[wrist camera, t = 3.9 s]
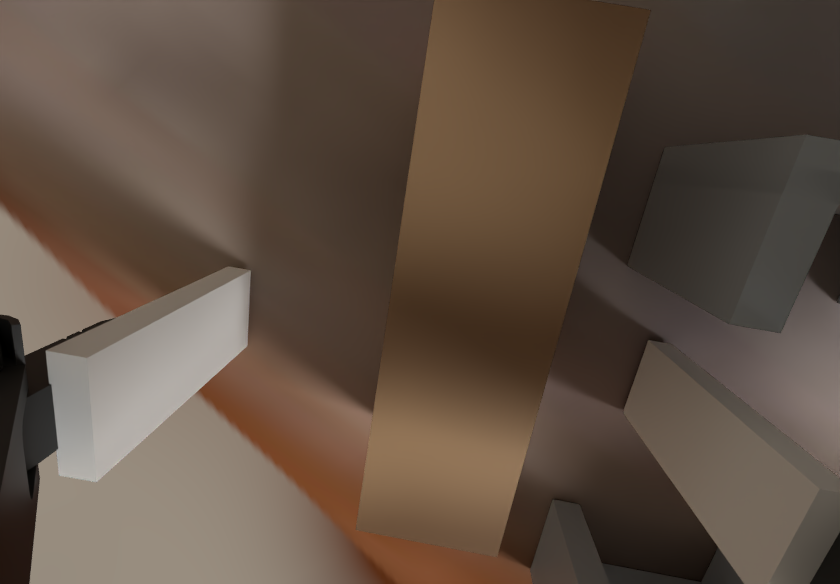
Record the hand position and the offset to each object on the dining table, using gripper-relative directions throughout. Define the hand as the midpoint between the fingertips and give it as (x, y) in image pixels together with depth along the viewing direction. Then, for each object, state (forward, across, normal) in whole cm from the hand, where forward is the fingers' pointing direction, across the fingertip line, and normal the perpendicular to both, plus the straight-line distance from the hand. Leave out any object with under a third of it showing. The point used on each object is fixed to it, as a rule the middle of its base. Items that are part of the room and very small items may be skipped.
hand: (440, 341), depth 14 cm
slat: (0, 0, +3) cm, 3 cm away
